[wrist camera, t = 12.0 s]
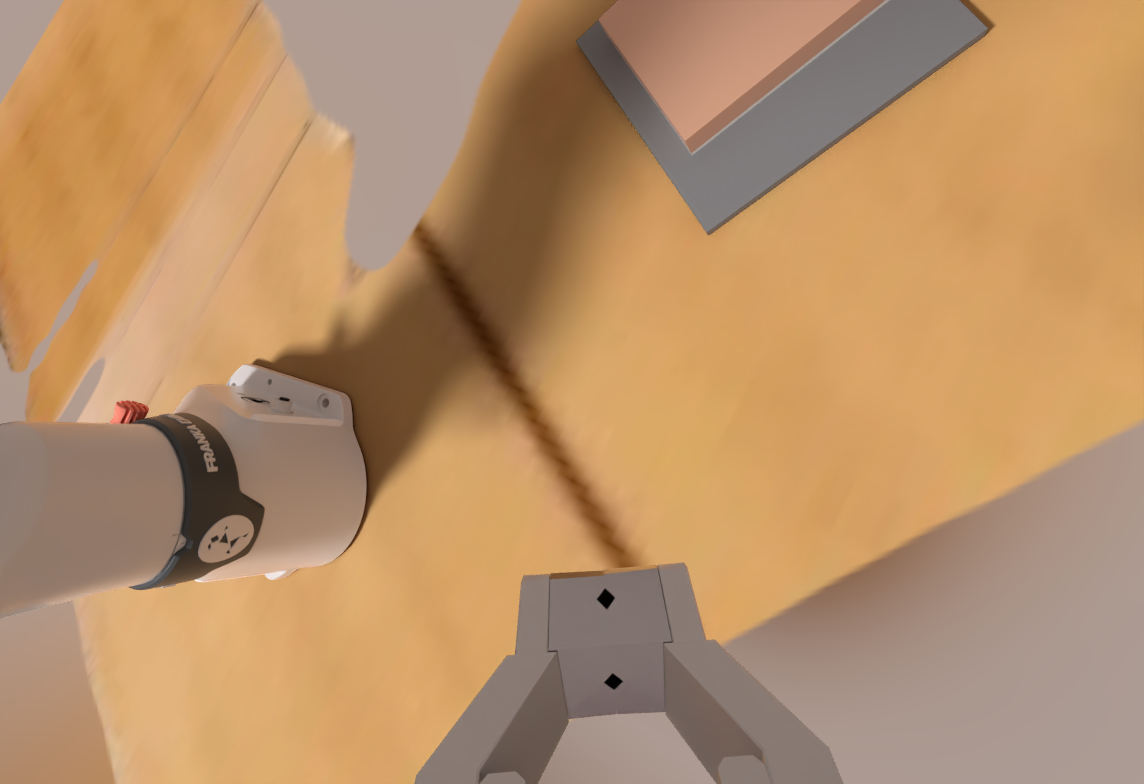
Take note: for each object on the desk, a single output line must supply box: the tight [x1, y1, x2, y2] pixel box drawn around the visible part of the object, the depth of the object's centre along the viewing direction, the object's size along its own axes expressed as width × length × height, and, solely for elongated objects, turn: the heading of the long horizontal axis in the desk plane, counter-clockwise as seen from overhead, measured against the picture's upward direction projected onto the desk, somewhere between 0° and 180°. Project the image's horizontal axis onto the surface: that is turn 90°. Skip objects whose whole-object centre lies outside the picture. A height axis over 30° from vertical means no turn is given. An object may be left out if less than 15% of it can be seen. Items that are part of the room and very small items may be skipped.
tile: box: [598, 0, 889, 155], centre depth 36 cm, size 2×14×12 cm
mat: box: [576, 0, 988, 235], centre depth 36 cm, size 19×18×1 cm
